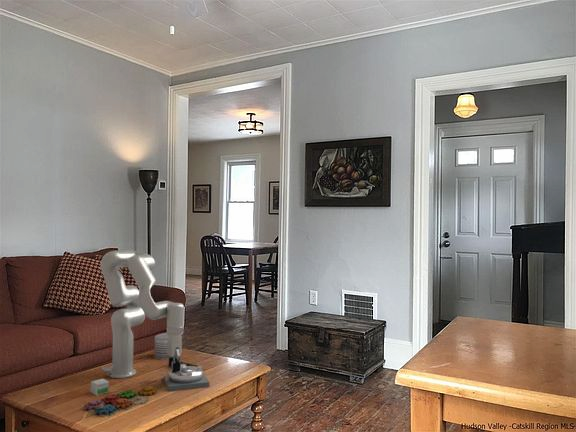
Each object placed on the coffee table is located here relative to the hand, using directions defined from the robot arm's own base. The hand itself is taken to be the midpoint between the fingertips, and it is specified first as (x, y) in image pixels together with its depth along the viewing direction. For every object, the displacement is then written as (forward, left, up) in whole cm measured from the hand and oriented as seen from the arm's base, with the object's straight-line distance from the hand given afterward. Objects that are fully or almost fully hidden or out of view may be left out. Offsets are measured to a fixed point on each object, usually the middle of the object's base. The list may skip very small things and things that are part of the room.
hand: (174, 368), depth 213 cm
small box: (-32, 0, -7) cm, 32 cm away
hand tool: (+6, +21, -7) cm, 23 cm away
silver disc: (+6, +1, -5) cm, 7 cm away
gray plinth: (+6, +1, -7) cm, 9 cm away
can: (+2, +47, -7) cm, 47 cm away
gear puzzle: (-21, -15, -8) cm, 27 cm away
